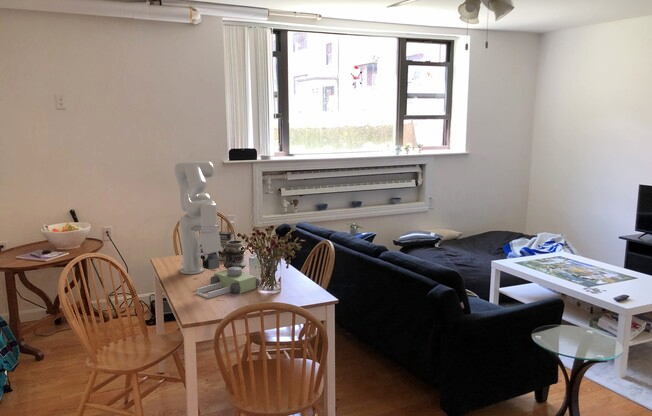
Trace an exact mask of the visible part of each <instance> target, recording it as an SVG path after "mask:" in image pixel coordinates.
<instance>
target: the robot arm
mask: <svg viewBox="0 0 652 416" xmlns="http://www.w3.org/2000/svg"><path fill="white" fill-rule="evenodd" d="M173 170H174V175H175V179H176V181H177V183H178V185H179V198H180V199H179V200H180V207H181V210H182V211H183V212H186V214H184V215H182V216H180V217H179V228H180V232H181V233H180V234H181V246H182V247H181V248H182V262H181V263H180V266H182V268H181V269H180V273H181V274H184V275H196V274H202V273H203V272H204V271H205V270H208V260H207V257H208V254H210V253H214V254H217V256H218V258H219V255H220V254H221V252H222V251H223V250H224V249H223V247H222V246H221V241H220V235H219V232H220V230H219V228H220V225H219V224H218V208H217V203H216V202H215V201H214V200H212V199H211V197H210V195H209V194H208V193H206V192H204V191H205V190H207V187H208V184H207V181H206V179H207V178H208V179H210V178H213V177H214V175H215V171H216V170H215V165H214V164H213V163H212V162H211V161H207V160H203V161H201V160H200V161H199V160H198V161H196V160H194V161H180V162H177V163H175V165H174V169H173ZM196 232H199V234H197V233H196ZM202 260H203V263H202ZM205 268H206V269H205Z"/></svg>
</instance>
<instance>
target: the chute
mask: <svg viewBox="0 0 652 416" xmlns="http://www.w3.org/2000/svg"><path fill="white" fill-rule="evenodd" d="M207 260H208V269H206V268H204V270H209V271H213V270H217V269H219V268H220V260H219V258H218V256H217V254H214V253H210V254H208V257H207ZM201 264H203V260H202V259H201Z"/></svg>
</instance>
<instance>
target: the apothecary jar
mask: <svg viewBox="0 0 652 416" xmlns="http://www.w3.org/2000/svg"><path fill="white" fill-rule="evenodd" d="M242 247H244V248H245V247H246V246H245V245H244V242H243V241H242V240H239V239H234V240H230V241H227V244H226V246H225V247H224V252H225V253H226V260H224V262H223V267H224V268H225V270H227V269H228V268H230V267H240V268H242V270H244V269H245V268H246V266H247V261H246V260H245V252H246V250H247V249H246V250H244V252H243V251H242V250H241V248H242ZM242 273H245V271H242Z"/></svg>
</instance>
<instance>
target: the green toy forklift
mask: <svg viewBox="0 0 652 416" xmlns="http://www.w3.org/2000/svg"><path fill="white" fill-rule="evenodd" d="M242 270H243V269H242V268H240V267H230V268H228V269H225V270H221V271H220V270H219V271H217V272H214V273H213V275H214V276H211V277H210V283H211V284H208V285H206V286H202V287H198V288H196V292H195V295H198V296H201V297H202V298H206V299H211V298H212V299H213V298H214V297H218V296H221V295H224V294H228V293H233V294H234V295H235V294H241V293H242V294H243V293H245V292H249V291H252V290H254V289H257V288H258V287H259V286H260V282H261V281H260V279H259V278H258V277H257V276H255V275H252V274H248V273H246V272H244V273H242V272H243V271H242ZM206 292H207V294H205V293H206Z"/></svg>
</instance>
